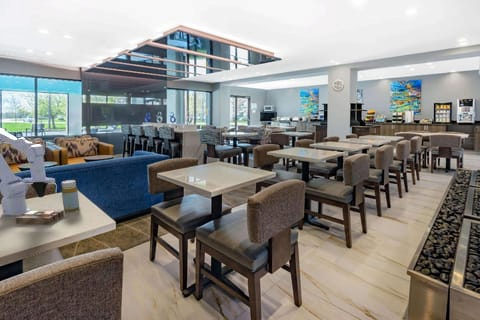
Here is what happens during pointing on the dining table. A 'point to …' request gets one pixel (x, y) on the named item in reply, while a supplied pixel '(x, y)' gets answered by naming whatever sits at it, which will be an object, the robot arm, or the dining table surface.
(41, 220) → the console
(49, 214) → the terracotta key
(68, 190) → the bottle
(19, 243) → the dining table surface
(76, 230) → the dining table surface
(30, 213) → the cream key
